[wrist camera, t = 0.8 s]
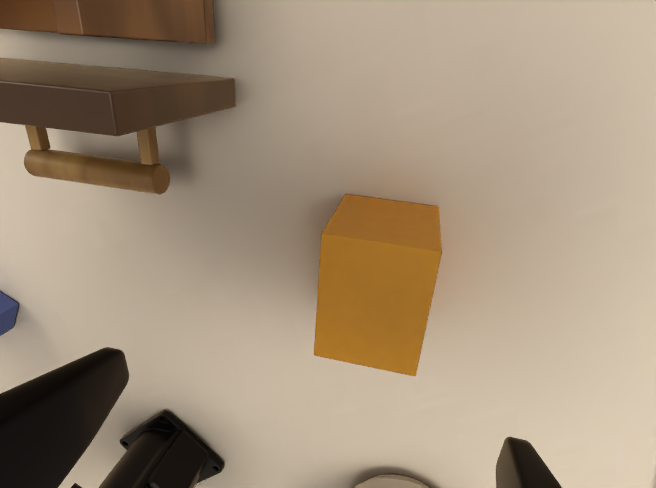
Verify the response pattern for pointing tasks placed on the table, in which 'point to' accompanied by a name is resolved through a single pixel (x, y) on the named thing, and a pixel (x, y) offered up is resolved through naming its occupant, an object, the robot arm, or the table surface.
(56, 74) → the drawer
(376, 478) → the can
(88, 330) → the table surface
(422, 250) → the orange rectangular block
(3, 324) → the walkman
